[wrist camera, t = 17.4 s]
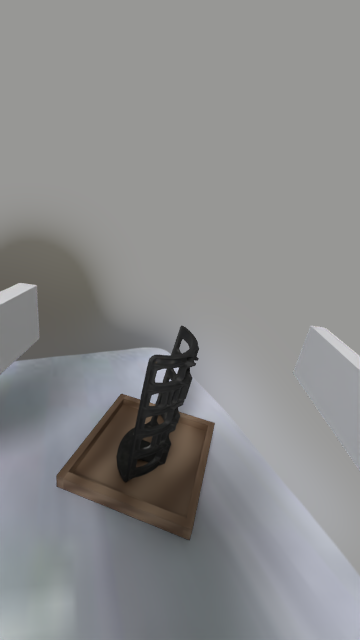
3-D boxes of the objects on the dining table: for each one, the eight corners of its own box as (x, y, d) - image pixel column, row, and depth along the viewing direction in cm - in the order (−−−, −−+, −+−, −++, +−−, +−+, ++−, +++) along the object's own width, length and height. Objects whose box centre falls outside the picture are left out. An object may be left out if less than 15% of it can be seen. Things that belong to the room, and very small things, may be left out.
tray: (56, 486, 35) (56, 475, 34) (120, 402, 51) (121, 393, 50) (189, 540, 32) (192, 529, 31) (212, 431, 48) (214, 423, 47)
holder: (128, 419, 46) (152, 316, 38) (170, 430, 46) (203, 329, 39) (107, 478, 36) (134, 354, 28) (161, 492, 36) (203, 373, 28)
